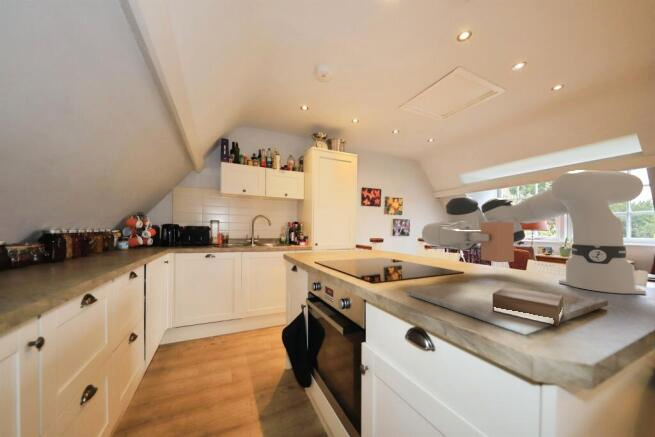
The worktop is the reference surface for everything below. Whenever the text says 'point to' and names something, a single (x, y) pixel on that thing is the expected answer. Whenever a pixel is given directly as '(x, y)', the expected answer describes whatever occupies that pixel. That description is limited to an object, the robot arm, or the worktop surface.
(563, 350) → the worktop surface
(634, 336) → the worktop surface
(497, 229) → the terracotta block
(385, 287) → the worktop surface
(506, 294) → the walnut base
